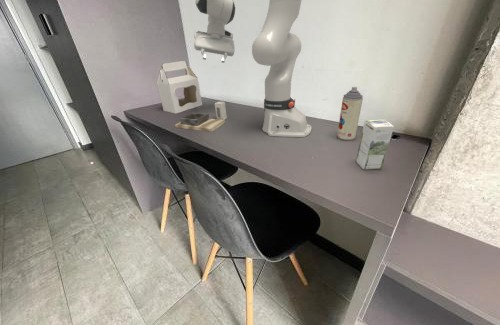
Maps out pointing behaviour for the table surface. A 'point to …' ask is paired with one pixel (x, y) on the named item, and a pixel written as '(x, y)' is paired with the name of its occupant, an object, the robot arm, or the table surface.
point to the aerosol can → (349, 115)
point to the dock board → (199, 122)
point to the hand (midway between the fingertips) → (213, 60)
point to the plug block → (220, 110)
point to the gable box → (171, 84)
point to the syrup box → (374, 144)
